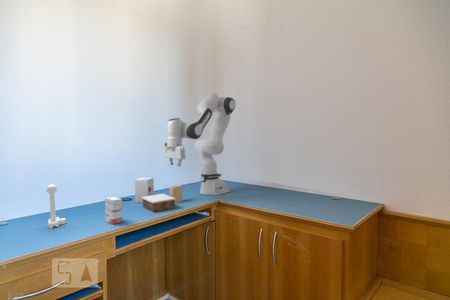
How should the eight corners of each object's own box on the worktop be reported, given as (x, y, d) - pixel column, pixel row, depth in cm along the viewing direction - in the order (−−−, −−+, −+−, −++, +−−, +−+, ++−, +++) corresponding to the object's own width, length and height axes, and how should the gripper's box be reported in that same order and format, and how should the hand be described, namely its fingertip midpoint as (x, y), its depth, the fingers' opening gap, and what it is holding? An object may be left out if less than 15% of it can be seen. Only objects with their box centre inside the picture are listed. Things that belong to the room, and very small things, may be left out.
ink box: (123, 222, 145) (122, 198, 144) (113, 224, 141) (112, 200, 141) (114, 218, 151) (113, 196, 150) (105, 221, 147) (104, 198, 146)
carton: (179, 200, 190) (178, 185, 189) (182, 201, 186) (182, 186, 186) (169, 201, 186) (169, 186, 185) (173, 203, 182) (172, 187, 181)
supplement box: (148, 203, 182) (147, 179, 181) (135, 202, 184) (134, 179, 183) (154, 200, 191) (153, 177, 190) (141, 199, 193) (141, 177, 192)
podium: (163, 203, 183) (163, 193, 182) (175, 208, 170) (175, 198, 170) (141, 206, 174) (141, 197, 174) (153, 212, 161) (153, 202, 161)
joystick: (49, 222, 146) (47, 183, 145) (66, 220, 150) (64, 181, 148) (47, 229, 136) (45, 186, 135) (65, 226, 140) (63, 185, 138)
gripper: (187, 144, 177) (188, 166, 178) (171, 143, 193) (172, 163, 194) (178, 144, 173) (179, 167, 174) (163, 143, 189) (163, 164, 190)
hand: (175, 165), depth 184 cm, fingers open, 8 cm apart
